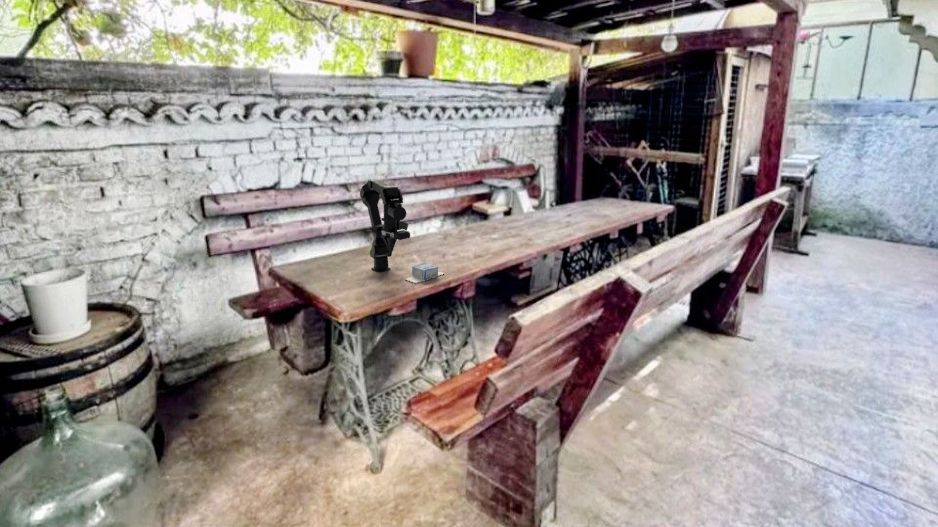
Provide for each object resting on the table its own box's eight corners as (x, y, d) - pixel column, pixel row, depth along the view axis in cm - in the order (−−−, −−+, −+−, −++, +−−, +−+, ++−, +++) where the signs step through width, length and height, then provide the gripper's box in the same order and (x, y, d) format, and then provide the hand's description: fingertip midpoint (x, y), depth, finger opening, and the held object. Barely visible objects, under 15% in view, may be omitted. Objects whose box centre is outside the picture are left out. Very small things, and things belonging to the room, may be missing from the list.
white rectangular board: (404, 280, 221) (404, 279, 220) (434, 271, 234) (434, 270, 233) (415, 283, 217) (415, 282, 216) (444, 274, 229) (444, 273, 229)
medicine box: (424, 262, 229) (438, 266, 224) (424, 272, 231) (438, 276, 225) (411, 266, 224) (425, 270, 218) (411, 276, 225) (425, 280, 219)
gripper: (419, 216, 215) (419, 252, 220) (390, 209, 227) (391, 243, 231) (399, 220, 207) (400, 257, 212) (370, 213, 218) (371, 248, 223)
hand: (391, 251), depth 220 cm, fingers closed
